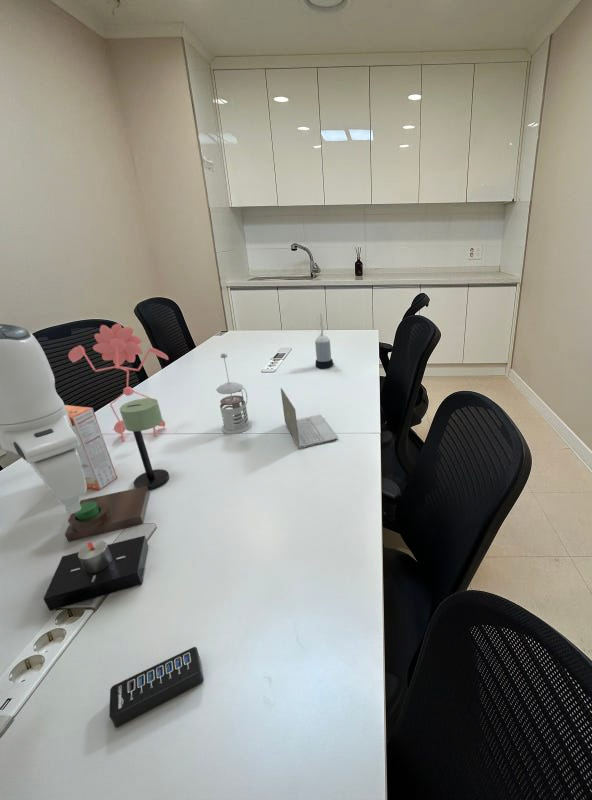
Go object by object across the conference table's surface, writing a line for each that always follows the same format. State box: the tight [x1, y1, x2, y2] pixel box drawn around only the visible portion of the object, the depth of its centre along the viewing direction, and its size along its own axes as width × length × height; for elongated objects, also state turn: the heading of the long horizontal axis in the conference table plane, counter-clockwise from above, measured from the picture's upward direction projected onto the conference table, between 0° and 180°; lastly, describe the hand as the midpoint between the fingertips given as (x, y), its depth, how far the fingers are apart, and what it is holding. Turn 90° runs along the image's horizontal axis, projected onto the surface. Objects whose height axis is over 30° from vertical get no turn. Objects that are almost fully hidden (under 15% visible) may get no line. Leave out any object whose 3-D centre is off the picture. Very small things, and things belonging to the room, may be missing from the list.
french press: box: [215, 353, 253, 435], centre depth 123 cm, size 10×12×25 cm
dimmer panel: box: [43, 535, 149, 612], centre depth 72 cm, size 14×10×3 cm
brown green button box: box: [64, 486, 151, 543], centre depth 87 cm, size 14×12×4 cm
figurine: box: [68, 322, 177, 442], centre depth 120 cm, size 15×26×35 cm, turn 108°
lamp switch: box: [75, 501, 99, 521], centre depth 83 cm, size 4×4×2 cm
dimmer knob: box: [77, 540, 112, 574], centre depth 70 cm, size 4×4×4 cm
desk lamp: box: [119, 397, 170, 492], centre depth 96 cm, size 10×8×22 cm
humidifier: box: [314, 311, 335, 370], centre depth 177 cm, size 8×8×25 cm
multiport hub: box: [108, 646, 205, 728], centre depth 54 cm, size 4×11×2 cm, turn 120°
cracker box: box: [64, 404, 118, 491], centre depth 96 cm, size 14×6×21 cm, turn 76°
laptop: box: [280, 387, 339, 449], centre depth 120 cm, size 18×12×13 cm
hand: (65, 499), depth 66 cm, fingers open, 8 cm apart
